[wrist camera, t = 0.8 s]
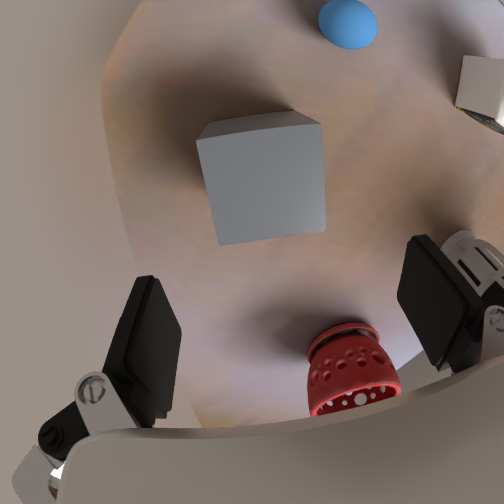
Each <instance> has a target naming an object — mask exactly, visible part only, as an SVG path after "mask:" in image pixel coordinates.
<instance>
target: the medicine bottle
mask: <svg viewBox="0 0 504 504" xmlns="http://www.w3.org/2000/svg"><path fill="white" fill-rule="evenodd" d="M455 107H456V108H457V109H459V110H460V111H462V112H464V113H465V114H467V115H469V116H470V117H472V118H473V119H475V120H476V121H478V122H480V123H481V124H483V125H484V126H486V127H487V128H489V129H491V130H494V131H496V132H499V133H501V134H503V135H504V59H497V58H489V57H480V56H468V55H464V56H463V61H462V68H461V75H460V81H459V87H458V92H457V97H456V102H455Z"/></svg>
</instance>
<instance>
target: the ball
mask: <svg viewBox="0 0 504 504" xmlns="http://www.w3.org/2000/svg"><path fill="white" fill-rule="evenodd" d="M318 23H319V27H320V30H321V32H322V33H323V35H324V36H325V37H326V38H327V39H328V40H329V41H330V42H332V43H333V44H335V45H337V46H339V47H342V48H346V49H359V48H362V47H365V46H367V45H368V44H370V43H371V42H372V41H373V40H374V38H375V36H376V34H377V29H378V25H377V20H376V18H375V16H374V14H373V12H372V11H371V10H370V9H369V8H368V7H367V6H366V5H364V4H363V3H361V2H359V1H357V0H331V1H329V2H327V3H326V4H325V5H324V6H323V7H322V9H321V10H320V13H319V16H318Z"/></svg>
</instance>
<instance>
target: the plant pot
mask: <svg viewBox="0 0 504 504" xmlns="http://www.w3.org/2000/svg"><path fill="white" fill-rule="evenodd" d="M379 340H380V339H379V335H378V333H377V331H376V330H375V329H374V328H372V327H371V326H369V325H366V324H362V323H346V324H342V325H338V326H335V327H333V328H331V329H329V330H327V331H325V332H324V333H322V334H321V335H320V336H318V337H317V338H316V339H315V340H314V342H313V343H312V344H311V346H310V348H309V350H308V361H309V363H310V364H311V365H310V369H309V373H308V383H307V391H308V405H309V411H310V415H311V417H315V416H320V415H325V414H330V413H335V412H339V411H344V410H348V409H352V408H356V407H360V406H364V405H368V404H371V403H375V402H378V401H382V400H385V399H388V398H392V397H395V396H398V395H400V393H401V385H400V381H399V378H398V375H397V372H396V370H395V368H394V366H393V364H392V362H391V360H390V358H389V356H388V355H387V353H386V352H385V351H384V349H383V348H382V347H381V346H380V345H379ZM382 386H385V387H386V390H385V392H384V393H383V392H382V390H381V389H382ZM367 387H372V388H371V389H367ZM349 392H353V393H352V395H349V396H348V395H346V393H349ZM373 393H375V394H376V397H375V398H374V399H372V398H371V395H372V394H373ZM358 394H365V395H366V396H367V401H366V403H365V404H363V405H357V404H356V403H355V401H354V399H355V397H356V396H357V395H358ZM329 401H332V403H333V406H329V405H327V402H329ZM342 401H347V403H348V404H347V405H342ZM321 406H322V408H323V410H322V409H321Z"/></svg>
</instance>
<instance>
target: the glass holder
mask: <svg viewBox="0 0 504 504" xmlns="http://www.w3.org/2000/svg"><path fill="white" fill-rule="evenodd" d="M485 248H486V249H487V250H489V251H490V252H491V253H492V254H494V255H495V256H496V257H497V258H498V259H499V260H500V262H501V263H502V264H503V265H504V255H503V254H502V253H501V252H500V251H498V250H497V249H496V248H495V247H494V246H492V245H491V244H489V243H488V242H486V241H483V240H480V239H477V238H476V236H475V234H474V233H473V232H472V231H470V230H461V231H458V232H456V233H455V234H453V235H452V236H450V237H449V238H448V239H447V240H446V241H445V243H444V244H443V245H442V246H441V248H440V250H441V251H442V252H443V253H444V254H445V255H446V256H447V257H448V258H449V260H450V261H451V262H452V263H453V264H454V265H455V266H456V268H457V269H458V270H459V271H460V272H461V273H462V275H463V276H464V277H465V278H466V280H467V281H468V282H469V283H470V284H471V286H472V287H473V288H474V289H475V291H476V292H477V293H478V295H479V296H480V297H481V298H482V300H483V301H484V302H485V304H484V306H483V308H484V310H485V311H486V309H487V308H488V307H490V306H494V305H497V306H501V307H503V308H504V268H503V267H502V265H501V264H500V263H499V262H498V261H497V260H496V259H495V258H494V257H493V256H492V255H491V254H490V253H489V252H488V251H487V250H486V249H485Z"/></svg>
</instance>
